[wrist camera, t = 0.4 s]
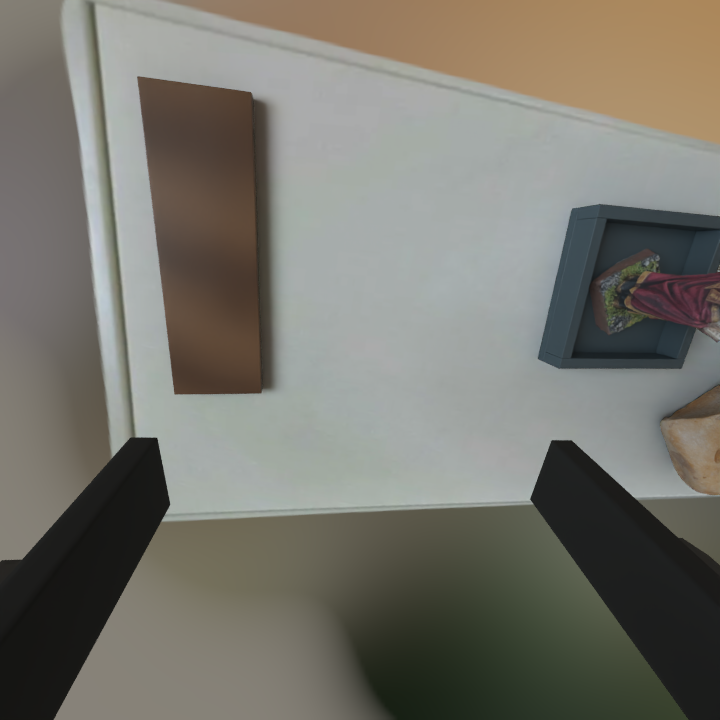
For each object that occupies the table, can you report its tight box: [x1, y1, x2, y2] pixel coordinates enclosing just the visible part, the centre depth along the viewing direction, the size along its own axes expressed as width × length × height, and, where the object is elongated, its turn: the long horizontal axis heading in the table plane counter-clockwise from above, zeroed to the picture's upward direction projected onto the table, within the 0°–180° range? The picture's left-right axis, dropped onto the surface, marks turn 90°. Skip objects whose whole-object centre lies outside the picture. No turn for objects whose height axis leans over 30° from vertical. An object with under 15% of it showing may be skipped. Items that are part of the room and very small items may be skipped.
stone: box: [660, 385, 720, 495], centre depth 37 cm, size 14×11×8 cm
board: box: [137, 76, 263, 394], centre depth 26 cm, size 22×7×1 cm, turn 177°
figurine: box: [589, 249, 720, 342], centre depth 26 cm, size 6×6×12 cm
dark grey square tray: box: [538, 204, 720, 369], centre depth 31 cm, size 14×14×3 cm
